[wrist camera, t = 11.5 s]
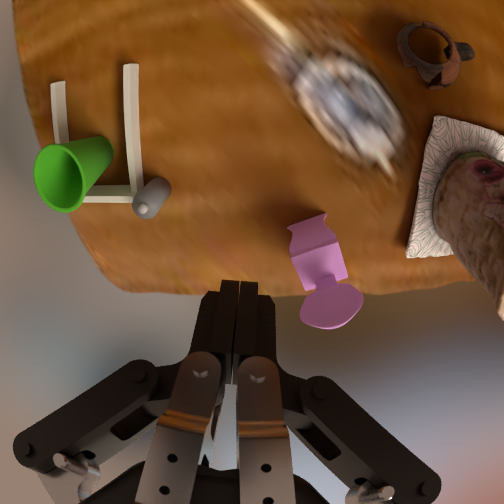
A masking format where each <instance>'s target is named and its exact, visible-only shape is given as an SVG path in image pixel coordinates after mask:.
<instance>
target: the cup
mask: <svg viewBox="0 0 504 504" xmlns="http://www.w3.org/2000/svg"><path fill="white" fill-rule="evenodd" d="M113 154H114V151H113V147H112V144H111V143H110V141H109V140H108V139H106V138H104V137H101V136H95V137H90V138H85V139H80V140H76V141H71V142H67V143H63V144H49V145H47V146H45V147H44V148H43V149H42V150H41V151H40V152H39V154H38V155H37V157H36V160H35V163H34V169H33V176H34V182H35V186H36V189H37V191H38V193H39V195H40V197H41V198H42V200H43V201H44V202H45V203H46V204H47V205H48V206H49V207H50V208H52V209H53V210H56V211H58V212H63V213H66V212H72V211H74V210H76V209H77V208H78V207H79V206H80V205H81V204H82V202H83V200H84V198H85V194H86V193H87V192H88V191H89V189H90V188H91V187H92V185H93V184H94V183H95V182H96V180H97V179H98V178H99V177H100V176H101V174H102V173H103V172H104V171H105V170H106V168H107V167H108V166H109V165H110V163H111V162H112V159H113Z"/></svg>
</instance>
